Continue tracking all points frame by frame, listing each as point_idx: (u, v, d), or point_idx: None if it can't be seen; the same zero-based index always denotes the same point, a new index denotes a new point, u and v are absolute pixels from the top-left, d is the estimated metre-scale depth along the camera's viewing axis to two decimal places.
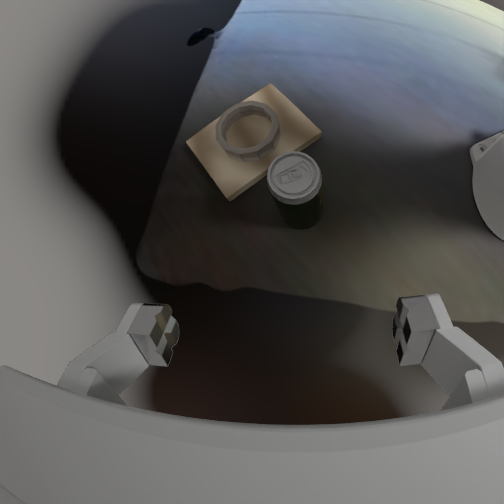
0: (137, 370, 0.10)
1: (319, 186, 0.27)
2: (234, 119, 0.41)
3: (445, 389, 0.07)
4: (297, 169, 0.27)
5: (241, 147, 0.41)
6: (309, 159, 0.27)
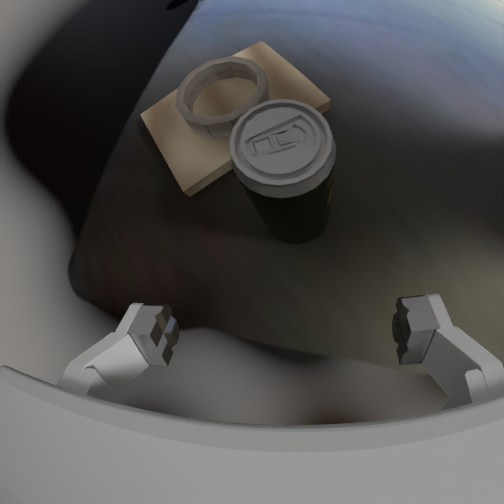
0: (138, 370, 0.10)
1: (331, 164, 0.14)
2: (206, 83, 0.27)
3: (445, 389, 0.07)
4: (288, 129, 0.14)
5: None
6: (312, 113, 0.14)
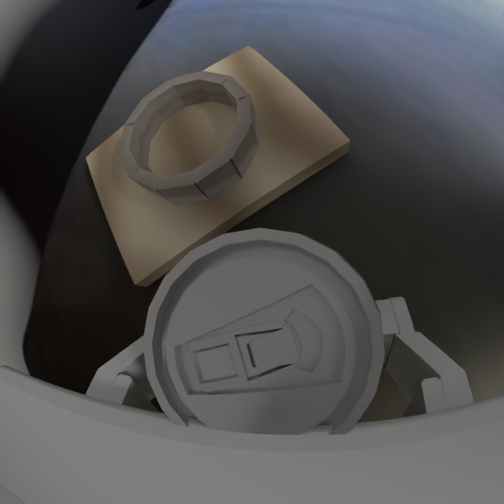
0: None
1: None
2: (168, 111, 0.19)
3: (408, 395, 0.07)
4: (278, 327, 0.06)
5: (173, 170, 0.19)
6: (342, 277, 0.06)
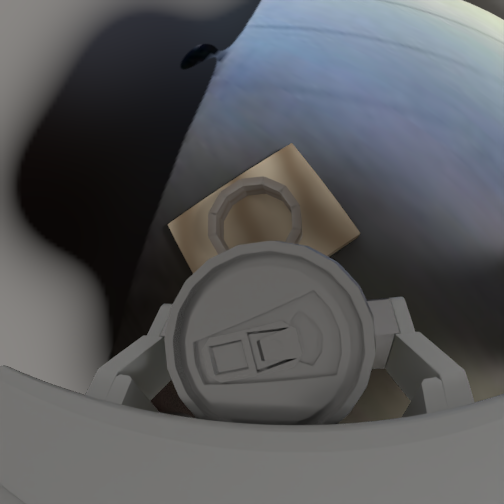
0: None
1: None
2: (236, 200, 0.30)
3: (408, 395, 0.07)
4: (285, 326, 0.07)
5: None
6: (340, 285, 0.07)
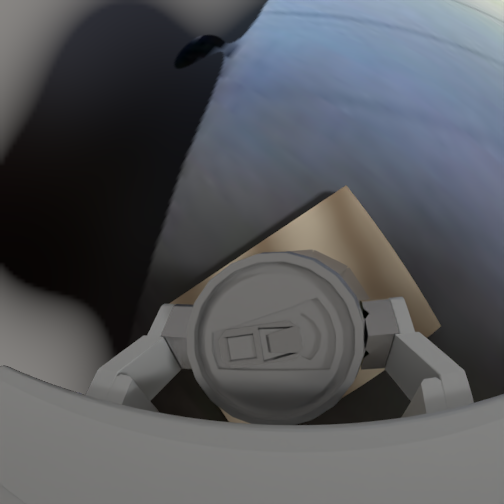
0: (170, 374, 0.10)
1: None
2: None
3: (408, 395, 0.07)
4: (290, 325, 0.08)
5: None
6: (339, 294, 0.08)
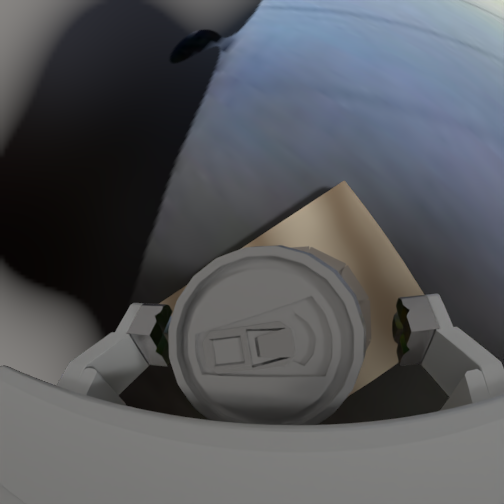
0: (138, 370, 0.10)
1: None
2: None
3: (445, 389, 0.07)
4: (281, 327, 0.07)
5: None
6: (337, 293, 0.07)
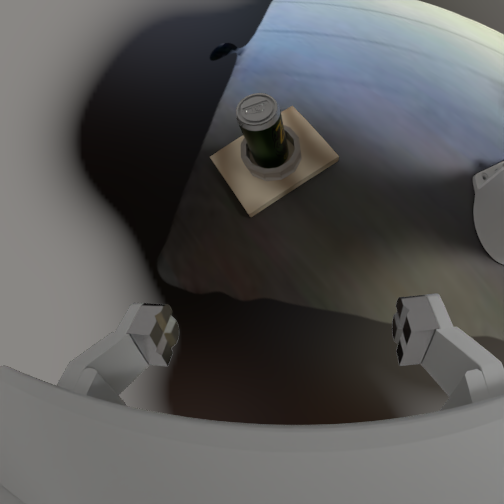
0: (138, 370, 0.10)
1: (276, 119, 0.33)
2: None
3: (445, 389, 0.07)
4: (260, 105, 0.33)
5: None
6: (271, 99, 0.33)
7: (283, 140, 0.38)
